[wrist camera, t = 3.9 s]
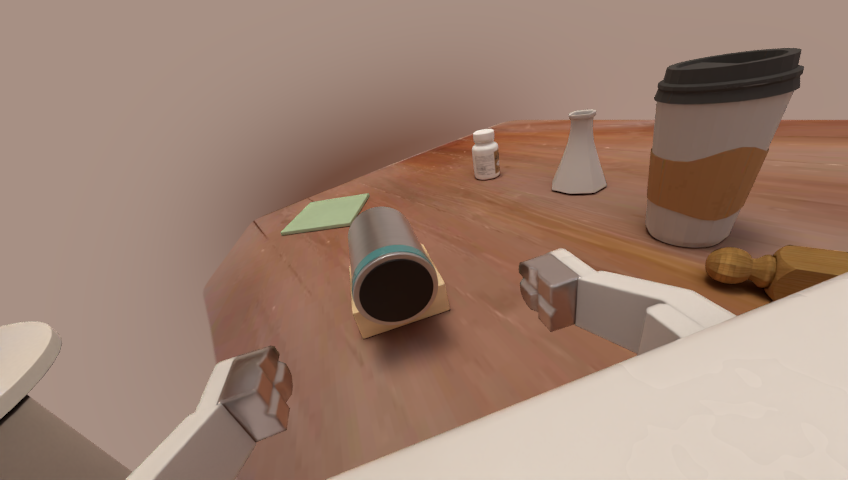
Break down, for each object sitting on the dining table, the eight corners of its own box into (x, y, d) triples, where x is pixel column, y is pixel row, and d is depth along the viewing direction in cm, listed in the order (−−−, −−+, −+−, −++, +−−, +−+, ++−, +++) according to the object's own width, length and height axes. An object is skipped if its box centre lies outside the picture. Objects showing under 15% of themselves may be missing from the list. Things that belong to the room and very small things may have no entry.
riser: (450, 309, 27) (445, 283, 26) (362, 339, 26) (352, 313, 25) (428, 266, 34) (422, 243, 32) (357, 289, 33) (348, 266, 31)
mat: (281, 235, 49) (280, 232, 49) (311, 205, 60) (310, 202, 59) (351, 225, 47) (349, 222, 47) (369, 196, 58) (368, 193, 57)
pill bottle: (503, 176, 53) (500, 130, 49) (478, 182, 53) (473, 136, 49) (495, 169, 57) (491, 126, 53) (472, 175, 57) (467, 132, 53)
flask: (612, 177, 44) (621, 103, 39) (599, 198, 40) (607, 117, 35) (560, 175, 48) (562, 108, 44) (543, 193, 44) (543, 121, 39)
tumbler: (446, 311, 23) (431, 242, 20) (367, 337, 22) (339, 270, 19) (417, 253, 31) (404, 198, 28) (359, 271, 30) (338, 216, 27)
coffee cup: (705, 208, 33) (750, 47, 26) (769, 250, 26) (857, 44, 19) (619, 217, 35) (639, 69, 27) (657, 259, 28) (698, 74, 20)
